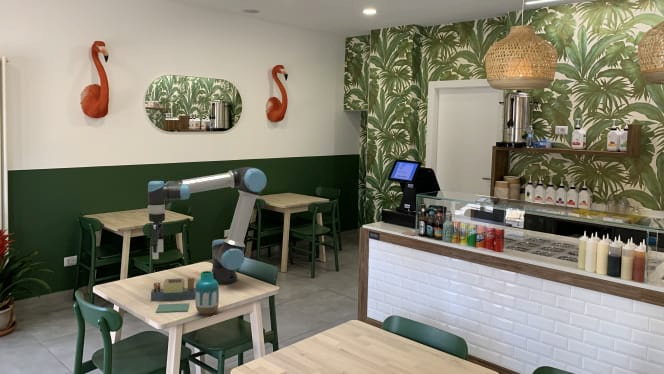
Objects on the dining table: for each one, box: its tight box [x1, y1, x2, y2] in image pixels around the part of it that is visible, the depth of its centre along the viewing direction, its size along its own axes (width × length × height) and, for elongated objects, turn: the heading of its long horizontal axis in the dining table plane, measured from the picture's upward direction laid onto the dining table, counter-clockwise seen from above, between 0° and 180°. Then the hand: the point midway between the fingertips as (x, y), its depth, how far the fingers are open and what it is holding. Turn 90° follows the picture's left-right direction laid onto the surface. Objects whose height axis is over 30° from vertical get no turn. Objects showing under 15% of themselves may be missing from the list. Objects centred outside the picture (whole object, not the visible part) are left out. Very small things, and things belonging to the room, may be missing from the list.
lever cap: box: [162, 277, 185, 293], centre depth 260 cm, size 9×8×5 cm
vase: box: [194, 270, 220, 315], centre depth 241 cm, size 11×11×19 cm
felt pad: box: [155, 302, 190, 314], centre depth 247 cm, size 14×10×1 cm
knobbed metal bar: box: [150, 277, 195, 302], centre depth 260 cm, size 21×5×10 cm, turn 100°
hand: (158, 255), depth 261 cm, fingers open, 13 cm apart
